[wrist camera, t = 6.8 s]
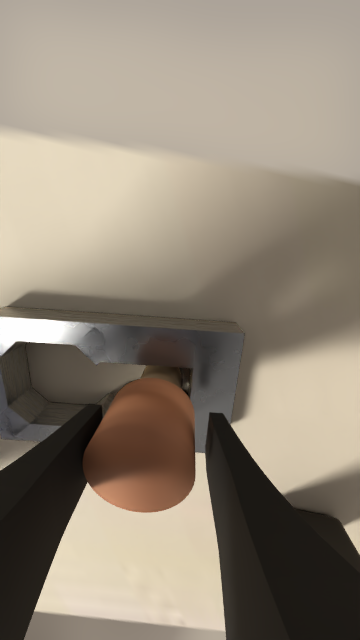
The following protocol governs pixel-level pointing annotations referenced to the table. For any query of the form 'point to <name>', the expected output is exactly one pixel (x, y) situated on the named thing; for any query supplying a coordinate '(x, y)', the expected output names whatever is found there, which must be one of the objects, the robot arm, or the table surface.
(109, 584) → the table surface
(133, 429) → the peg
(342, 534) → the battery charger
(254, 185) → the table surface
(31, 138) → the table surface
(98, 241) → the table surface
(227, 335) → the keyhole plate
